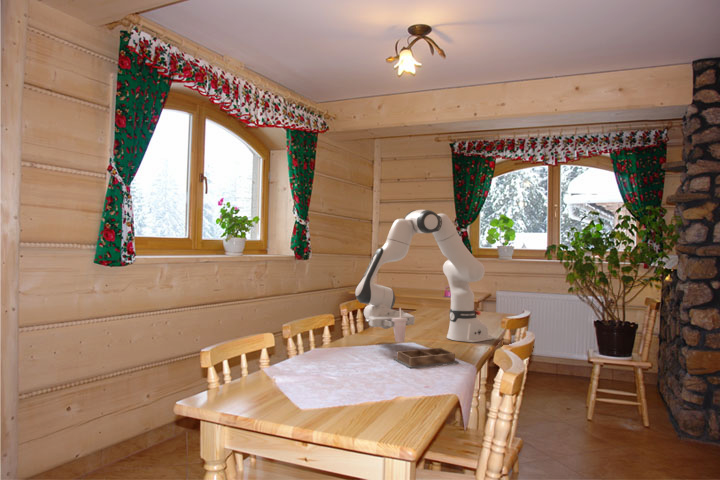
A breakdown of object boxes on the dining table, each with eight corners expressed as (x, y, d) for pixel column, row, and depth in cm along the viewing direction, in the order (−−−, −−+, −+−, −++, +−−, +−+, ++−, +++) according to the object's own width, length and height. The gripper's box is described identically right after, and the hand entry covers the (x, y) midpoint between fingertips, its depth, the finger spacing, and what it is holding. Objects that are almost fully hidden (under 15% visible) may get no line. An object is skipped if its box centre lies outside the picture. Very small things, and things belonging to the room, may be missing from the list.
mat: (440, 355, 199) (440, 354, 199) (458, 363, 187) (458, 361, 187) (393, 359, 190) (393, 358, 190) (409, 368, 178) (409, 367, 178)
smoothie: (408, 342, 195) (407, 308, 197) (392, 343, 195) (391, 308, 197) (406, 340, 202) (405, 307, 203) (391, 341, 202) (390, 307, 203)
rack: (440, 355, 197) (440, 347, 197) (454, 361, 188) (455, 353, 188) (397, 359, 189) (397, 351, 189) (410, 366, 180) (410, 358, 180)
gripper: (363, 312, 207) (377, 317, 194) (405, 310, 215) (421, 315, 202) (363, 326, 207) (377, 333, 194) (405, 323, 215) (420, 329, 203)
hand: (400, 323), depth 198 cm, fingers closed on smoothie, 6 cm apart
